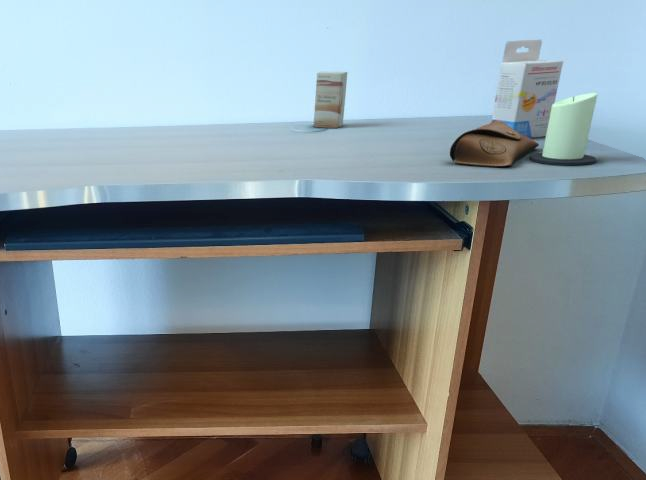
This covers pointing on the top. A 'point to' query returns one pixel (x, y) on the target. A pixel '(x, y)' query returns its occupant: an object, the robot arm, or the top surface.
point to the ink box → (526, 89)
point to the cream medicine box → (330, 99)
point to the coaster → (583, 161)
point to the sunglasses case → (491, 146)
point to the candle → (569, 127)
